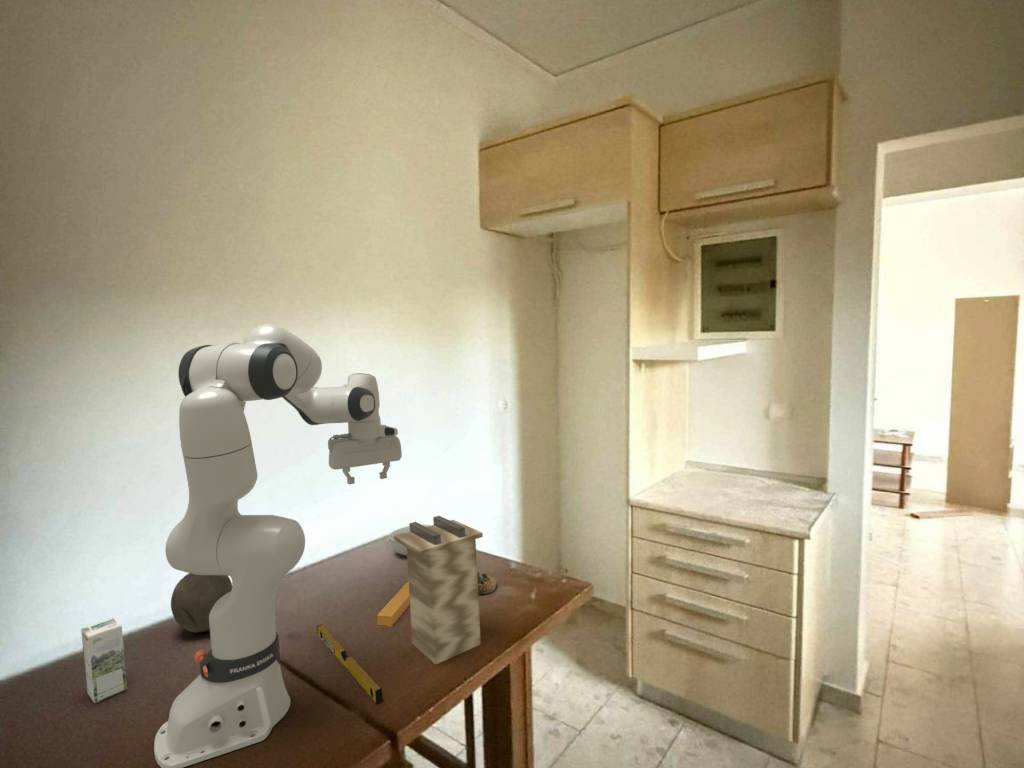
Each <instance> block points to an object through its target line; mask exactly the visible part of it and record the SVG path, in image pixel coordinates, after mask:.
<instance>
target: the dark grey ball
mask: <svg viewBox="0 0 1024 768" xmlns="http://www.w3.org/2000/svg"><path fill="white" fill-rule="evenodd" d="M231 590H232V579H231V577H230V576H228V575H196V574H191V573H187V574H185V576H183V577H182V578H181V579H180V580H179V581H178V582H177V584H176V585H175V587H174V589H173V592H172V595H171V599H170V609H171V614H172V616H173V618H174V620H175V622H176V623H177V624H178V626H179V627H181V628H182V629H184V630H186V631H189V632H191V633H195V634H196V633H206V632H210V626H209V614H210V611H211V609H212V607H213V606H214V604H215V603H216V602H217V601H218V600H219V599H220V598H221V597H222V596H224V595H225V594H227V593H228V592H230V591H231Z"/></svg>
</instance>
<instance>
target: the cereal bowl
mask: <svg viewBox="0 0 1024 768" xmlns="http://www.w3.org/2000/svg"><path fill="white" fill-rule="evenodd" d="M422 525H423V526H425V527H429V526H432V525H431V524H422ZM406 532H410V525H407V526H403V527H400V528H398V529H395V530H394V531H392V532H391V533H390V534H389V536H388V537H389V544H390V548H392V550H393V551H394V552H396V553H397V554H400V555H404V556H406V557H407V547H405V546H404V545H402V544H400V543H399V542H397V541H395V540H394V536H395V535H399V534H403V533H406Z"/></svg>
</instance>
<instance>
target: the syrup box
mask: <svg viewBox="0 0 1024 768" xmlns="http://www.w3.org/2000/svg"><path fill="white" fill-rule="evenodd" d="M80 632H81V642H82V644H81V645H82V651H83V653H82V654H83V662H84V673H85V683H86V684H85V685H86V692H87V695H88V696H89V698H90V699H91V701H92V702H93V704H98V703H100V702H102V701H104V700H107V699H109V698H111V697H113V696H116V695H117V694H120V693H122V692H124V691H127V690H128V683H127V672H126V671H127V670H126V663H125V662H126V661H125V649H124V636H123V626H122V625H121V624H120V623H119V622H118V620H117V619H116V618H115V617H111V618H108V619H105V620H103V621H100V622H97V623H94V624H90V625H88V626H85V627H82V628H80Z"/></svg>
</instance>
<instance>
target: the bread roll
mask: <svg viewBox="0 0 1024 768" xmlns="http://www.w3.org/2000/svg"><path fill="white" fill-rule="evenodd" d="M477 578H478V596H481V595H482V594H483V595H488V594H491V593H493V592H495V591H496V590H497V589H496V587H497V580H496V579H495V578H494V577H493V576H491V575H489V574H487V573H481V572H479V571H477Z"/></svg>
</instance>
